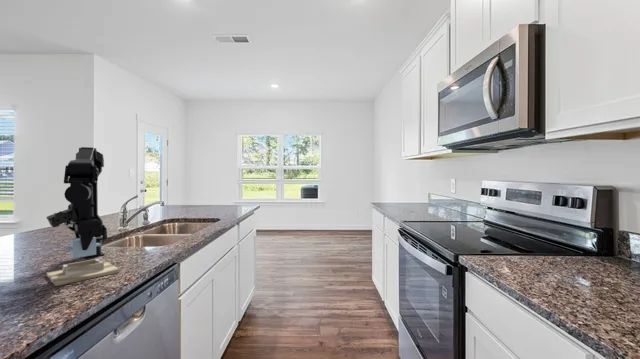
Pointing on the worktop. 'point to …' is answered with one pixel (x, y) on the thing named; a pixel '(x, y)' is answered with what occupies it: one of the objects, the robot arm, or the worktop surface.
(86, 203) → the robot arm
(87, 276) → the chassis pocket
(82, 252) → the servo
